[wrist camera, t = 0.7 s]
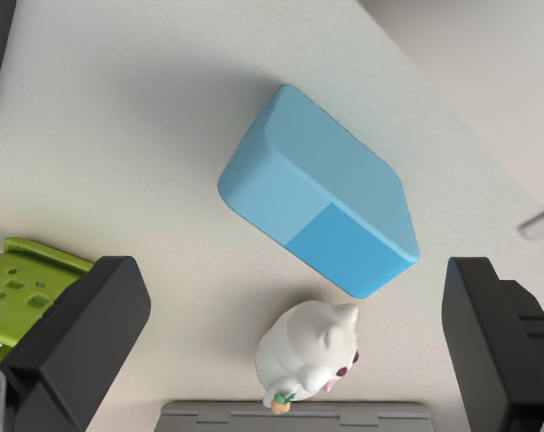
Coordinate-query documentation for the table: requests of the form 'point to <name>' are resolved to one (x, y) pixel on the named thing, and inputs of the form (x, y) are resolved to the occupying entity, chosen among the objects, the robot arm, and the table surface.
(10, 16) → the scale
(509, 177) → the table surface
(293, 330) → the cat figurine
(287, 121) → the blue rounded block
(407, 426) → the laptop
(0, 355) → the flower pot
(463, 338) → the robot arm
